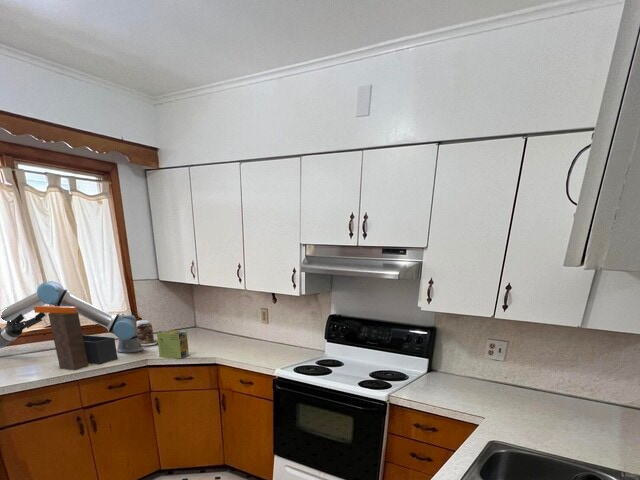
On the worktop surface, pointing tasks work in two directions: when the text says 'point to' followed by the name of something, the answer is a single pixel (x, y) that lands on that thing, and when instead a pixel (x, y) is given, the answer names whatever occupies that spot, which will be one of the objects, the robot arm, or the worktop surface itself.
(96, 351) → the trash bin
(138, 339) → the robot arm
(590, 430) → the worktop surface
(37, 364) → the worktop surface
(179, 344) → the protein box
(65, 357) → the stand
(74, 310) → the orange bar
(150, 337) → the jar
